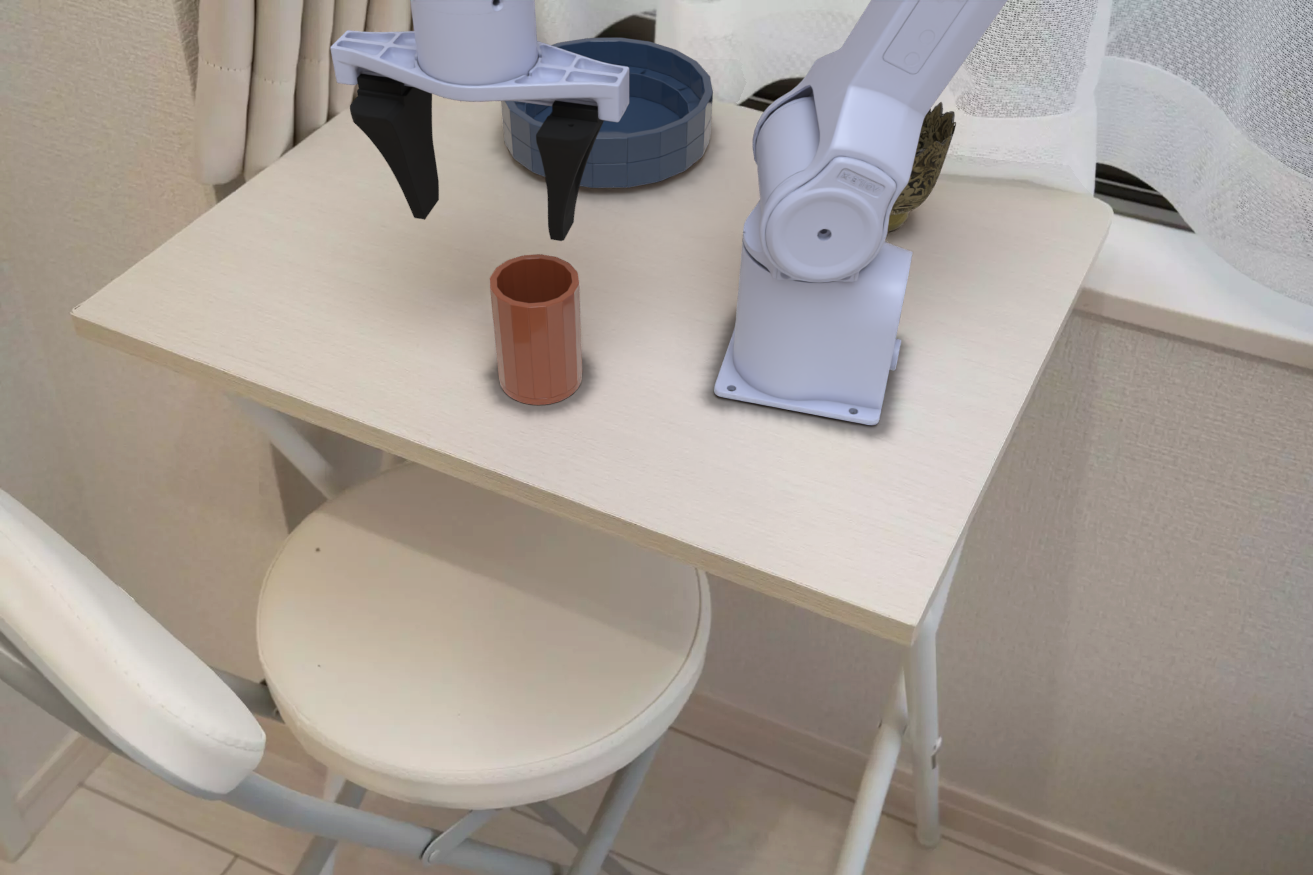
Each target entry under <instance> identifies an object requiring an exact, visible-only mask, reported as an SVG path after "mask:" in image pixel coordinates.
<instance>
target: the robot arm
mask: <svg viewBox="0 0 1313 875" xmlns="http://www.w3.org/2000/svg"><path fill="white" fill-rule="evenodd" d="M1008 1H1009V0H870V1H869V3H868V4H867V6H866V8H865V9H864V11H863V12H862V14H861V16H860V17H859V18H858V20H857V22H856V24H855V25H854V27H853V28H852V29H851V31H850V33H849V34H848V35H847V38H846V39H845V41H844V43H843V44H842V46H841V47H839V48H838V49H836V50H834V51H832V52H829V53H827V54H825V55H822V56H820V57H818V58H817V59H816V60H815V61H814V62H813V64H812V65H811V66H810V68H809V70H808V72H807V73H806V75H805V76H804V77H803V79H802V80H801V81H800V82H799V83H798V84H797V85H796V86H795V87H794V88H792V89H791V90H789V91H788V92H787V93H785V94H783V95H782V96H780V97H778V98H777V99H775V100H774V101H773V102H771V104H769V105H768V106H767V107H766V108H765V110H764V111H763V112H762V114H761V115H760V117H759V118H758V120H757V122H756V124H755V127H754V130H753V134H752V140H751V141H752V146H751V147H752V148H751V149H752V154H753V155H752V156H753V161H754V162H755V165H756V168H757V169H756V170H757V180H758V181H757V182H758V192H759V199H758V202H757V203H756V205H755V206H754V208H753V209H752V210H751V212H750V213H749V214H748V215H747V217H746V219H745V221H744V224H743V229H742V240H741V252H740V264H739V265H740V266H739V275H738V288H737V290H738V291H737V300H736V312H735V324H734V328H733V331H732V334H731V337H730V339H729V342H728V346H727V348H726V352H725V354H724V357H723V360H722V363H721V366H720V368H719V371H718V374H717V377H716V380H715V382H714V388H713V392H714V395H716V396H718V397H720V398H725V399H730V400H735V401H741V402H746V403H752V404H756V405H761V406H767V407H773V408H776V409H777V408H778V409H783V410H789V411H793V412H800V413H804V414H810V415H813V416H814V415H815V416H820V417H825V418H830V419H836V420H840V421H847V422H852V423H857V424H862V425H867V426H875V425H878V423H879V422H880V419H881V415H882V409H883V403H884V399H885V394H886V389H887V384H888V379H889V374H890V371H896V369H897V365H898V360H899V354H900V351H901V350H900V349H901V344H902V339H901V338H897V336H898V331H899V330H898V329H899V326H900V322H901V321H900V320H901V314H902V311H903V305H904V301H905V295H906V290H907V286H908V280H909V274H910V270H911V265H912V259H913V253H914V252H913V251H911V250H909V249H907V248H903V247H899V246H897V245H895V244H893V243H890V242H887V241H886V238H887V235H888V232H889V231H888V223H889V216H890V213H891V210H892V207H893V205H894V203H895V201H896V200H897V198H898V196H899V195H900V193H901V192H902V191H903V189H904V188H905V187H906V185H907V184H908V181H909V178H910V175H911V171H912V167H913V163H914V158H915V154H916V149H917V145H918V140H919V136H920V132H921V127H922V124H923V120H924V118H925V116H926V114H927V113H928V111H929V110H930V109H931V110H932V108H933V106H934V104H935V103H936V102H937V100H938V99H939V97H940V96H941V95H942V93H943V92H944V91H945V89H946V87H947V86H948V85H949V83H950V82H951V81H952V79H953V78H954V76H955V75H956V74H957V72H959V69H960V68H961V66H962V65H963V64H964V62H965V61H966V60H967V58H968V57H969V55H970V54H971V53H972V51H973V50H974V49H975V47H976V46H977V44H978V43H979V41H980V40H981V39H982V37H983V36H984V35H985V33H986V31H987V30H988V29H989V27H990V26H991V24H992V23H993V22H994V20H995V19H996V18H997V16H998V15H999V13H1000V12H1001V11H1002V9H1003V8H1004V6H1005V5H1006V4H1007V2H1008ZM409 3H410V10H411V17H412V25H413V30H408V31H407V30H405V31H360V30H351V29H347V30H346V31H345V32H344V33H343V34H342V35H341V36H340V37H339V38H337V40H336V41H335V42H334V43H333V44H332V45H330V48H329V49H330V54H331V58H332V63H333V64H332V66H333V70H334V75H335V80H336V83H337V84H341V85H346V86H357V90H356V94H357V96H356V98H354V100H353V101H352V102H351V103H350V105H349V112H350V116H351V119H352V122H353V123H354V125H356V126H357V127H358V128H359V129H360V130H361V131H362V133H363V134H365V135H366V137H367V138H368V139H369V141H371V143H372V144H373V145H374V147H375V148H376V149H377V151H378V152H379V153H380V155H381V156H382V158H383V159H384V160H385V162H386V163H387V165H388V167H389V169H390V170H391V172H392V174H393V176H394V177H395V179H396V182H397V183H398V186H399V187H400V189H401V191H402V195H403V197H404V198H405V200H406V202H407V205H408V207H409V209H410V212H411V214H412V217H413V219H418V220H426V219H427V218H428V216H429V215H430V213H431V212H432V211H433V209H434V207H435V206H436V205H437V203H438V202H439V200H440V181H439V173H438V167H437V159H436V153H435V147H434V138H433V95H434V96H437V97H440V98H443V99H447V100H450V101H457V102H467V103H485V102H501V101H518V102H526V103H533V104H540V105H547V106H552V112H551V114H550V116H548V117H547V118H546V120H545V121H544V123H543V124H542V126H541V128H540V129H539V131H538V132H537V134H536V143H537V146H538V149H539V152H540V155H541V159H542V163H543V168H544V173H545V177H544V178H545V185H546V193H547V228H548V233H549V239H550V240H551V241H557V242H563V241H565V239H566V237H567V236H568V234H569V232H570V230H571V228H572V227H573V225H574V223H575V214H576V208H577V206H576V205H577V201H578V195H579V191H580V187H581V186H580V183H581V179H582V176H583V172H584V169H585V166H586V163H587V160H588V157H589V155H590V152H591V150H592V147H593V145H594V142H595V140H596V138H597V135H598V133H599V131H600V128H601V126H602V124H603V122H604V120H605V121H612V122H619V121H620V119H621V117H622V116H623V114H624V112H625V110H626V108H627V106H628V104H629V67H625V66H619V65H613V64H608V63H604V62H600V61H597V60H593V59H590V58H587V57H584V56H581V55H578V54H575V53H572V52H569V51H566V50H563V49H560V48H557V47H554V46H551V45H552V44H549V43H545V42H542V41H541V40H540V41H539V40H538V34H537V17H536V0H409Z"/></svg>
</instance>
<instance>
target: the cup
mask: <svg viewBox="0 0 1313 875" xmlns="http://www.w3.org/2000/svg"><path fill="white" fill-rule="evenodd" d="M579 276H580V275H579V272H578V271H577V269H576V268H575V267H574V266H573V265H572V264H571V263H570V262H568V261H566V260H564V259H563V258H560V257H558V256H555V255H554V256H553V255H549V254H543V253H535V254H534V253H533V254H522V255H519V256H515V257H512V258H509V259H507V260H506V261H504V262H502V263H501V264H499V265H498V266H497V267H496V268H495V269H494V270H493V271H492V273H491V275H490V276H489V291H490V303H491V314H492V322H493V331H494V342H495V352H496V353H495V354H496V362H497V363H496V364H497V373H498V380H499V385H500V388H501V389H502V391H503V392H504V393H505V394H506V395H507V396H508V397H509V398H511V399H512V400H515V401H517V402H519V403H521V404H525V405H532V406H545V405H551V404H555V403H559V402H562V401H564V400H565V399H568V398H569V397H570V396H572V395H573V394H574V393H575V392H576V391H577V390H578V389H579V387H580V386H581V383H582V380H583V352H582V351H583V350H582V347H583V346H582V321H581V318H582V317H581V316H582V315H581V291H580V290H581V289H580V287H581V286H580V278H579Z"/></svg>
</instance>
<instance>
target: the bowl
mask: <svg viewBox="0 0 1313 875" xmlns="http://www.w3.org/2000/svg"><path fill="white" fill-rule="evenodd" d="M550 45H551V46H554V47H557V48H560V49H563V50H566V51H569V52H572V53H575V54H578V55H581V56H584V57H587V58H590V59H593V60H597V61H600V62H604V63H608V64H613V65H619V66H625V67H629V104H628V106H627V108H626V110H625V112H624V114H623V116H622V117H621V119H620V121H619V122H612V121H605V120H604V122H603V124H602V126H601V128H600V131H599V133H598V135H597V138H596V140H595V142H594V145H593V147H592V150H591V152H590V155H589V157H588V160H587V163H586V166H585V169H584V172H583V176H582V179H581V183H580V187H584V188H588V189H589V188H590V189H613V188H614V189H619V188H621V189H625V188H626V189H629V188H633V187H639V186H643V185H649V184H654V183H655V184H656V183H659V182H662V181H664V180H667V179H669V178H671V177H674V176H677V175H679V174H681V173H683V172H685V171H687V170H688V169H689V168H690V167H692V166H693V165H694V164H695V163H697V162H698V161H699V160H700V159H701V158H703V156H704V154H705V152H706V150H707V148H708V146H709V143H710V141H711V135H712V119H713V118H712V116H713V102H714V101H713V100H714V90H713V89H714V88H713V85H712V79H711V76H710V75H709V73H708V72H707V71H706V70H705V68H704V67H702V65H701V64H700V63H699V62H698V61H697V60H696V59H693V58H692V57H690V56H688V55H686V54H685V53H683V52H682V51H680V50H678V49H675V48H672V47H669V46H666V45H663V44H660V43H656V42H652V41H649V40H641V39H634V38H626V37H585V38H579V39H572V40H567V41H560V42H557V43H553V44H550ZM500 107H501V117H502V118H501V119H502V131H503V142H504V144H505V146H506V148H507V150H508V151H509V153H510V154H511V156H512V158H513V159H514V160H515V161H516V162H518V163H519V164H520V165H522V166H523V167H525V168H526V169H527V170H528V171H530V172H532V173H534V174H536V175H538V176H541V177H543V178H545V173H544V168H543V163H542V159H541V155H540V152H539V149H538V146H537V143H536V134H537V132H538V131H539V129H540V128H541V126H542V124H543V123H544V121H545V120H546V118H547V117H548V116H550V114H551V112H552V106H547V105H540V104H533V103H526V102H518V101H500Z"/></svg>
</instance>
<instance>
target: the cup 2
mask: <svg viewBox="0 0 1313 875" xmlns="http://www.w3.org/2000/svg"><path fill="white" fill-rule="evenodd" d="M943 106H944V104H943V102H942V101H940V102H938V104H935V105H934V107H933V108H931V109H930V110H929V111H928V113H927V114H926V116H925V118H924V120H923V124H922V127H921V132H920V136H919V140H918V145H917V149H916V154H915V158H914V163H913V167H912V171H911V175H910V178H909V181H908V184H907V185H906V187H905V188H904V189H903V191H902V192H901V193H900V195H899V196H898V198H897V200H896V201H895V203H894V205H893V207H892V210H891V213H890V216H889V223H888V231H887V232H892V231H895V230H897V229H899V228H901V227H902V226H903V225H904V224H905V222H906V221H907V219H908V218H909V214H910V212H911V211H913V210H915V209H917V208H918V207H920V206H921V205H922V204H923V203H924V202H925V201H926V200H927V199H928V198H929V196H930V195H931V193H932V192H933V190H934V188H935V186H936V184H937V182H938V179H939V177H940V174H941V172H942V169H943V166H944V163H945V160H946V157H947V155H948V152H949V148H950V146H951V143H952V140H953V137H954V134H955V130H956V128H957V122H956V121H955V117H956V115H955V114H956V113H955V111H953V110H949V111H946V112H944V107H943ZM943 112H944V113H943Z"/></svg>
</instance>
